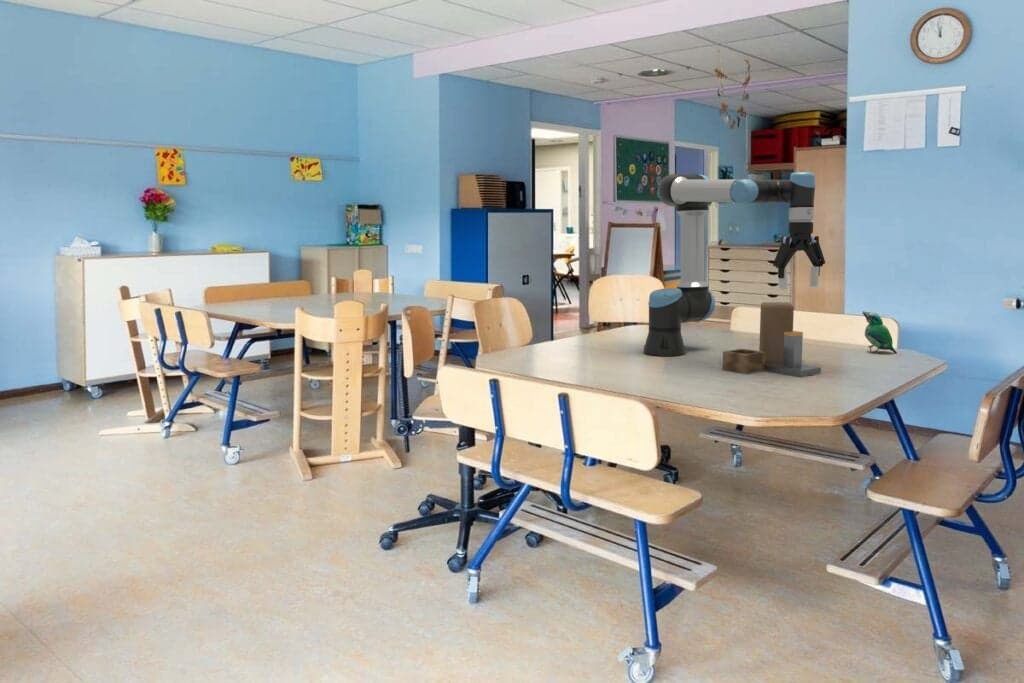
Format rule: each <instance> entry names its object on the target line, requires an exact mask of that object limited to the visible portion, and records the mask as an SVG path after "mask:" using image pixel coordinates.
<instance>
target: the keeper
mask: <svg viewBox="0 0 1024 683" xmlns="http://www.w3.org/2000/svg"><path fill="white" fill-rule="evenodd" d="M803 339H804V332H803V331H797V330H793V331H787V332H784V355H783V362H777V363H765V365H764V371H763V372H768V373H775V374H780V373H781V374H780V375H785V374H786V375H787V376H793V377H797V378H803V377H804V376H805V377H809V375H810V376H814V374H815V375H820V374H821V373H822V372H821V371H822V370H821V369H822V366H816V365H810V364H803V363H802V362H803V342H804V341H803Z"/></svg>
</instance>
